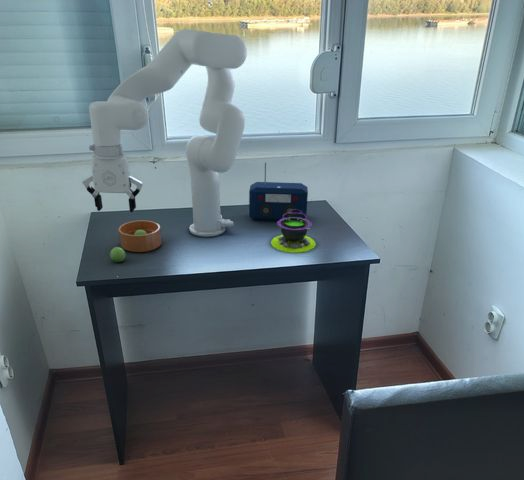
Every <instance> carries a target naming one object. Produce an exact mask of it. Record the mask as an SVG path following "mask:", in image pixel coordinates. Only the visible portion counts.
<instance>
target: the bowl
mask: <svg viewBox="0 0 524 480" xmlns="http://www.w3.org/2000/svg"><path fill="white" fill-rule="evenodd" d="M137 230H144V231H145V232H146V233H147V234H145V235H134V233H135V232H136V231H137ZM161 231H162V229H161V225H160V224H159V223H157V222H156V221H152V220H143V219H142V220H141V219H139V220H132V221H127V222H125V223H123V224H121V225H119V227H118V235H119V242H120V248H122V249H123V250H124V251H125V250H126V251H128V252H130V253H131V252H132V253H146V252H147V253H148V252H151V251H153V250H154V251H155V249H158V248H159V247H160V246H161V245H162V243H163V240H162V239H163V238H162V232H161Z"/></svg>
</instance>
